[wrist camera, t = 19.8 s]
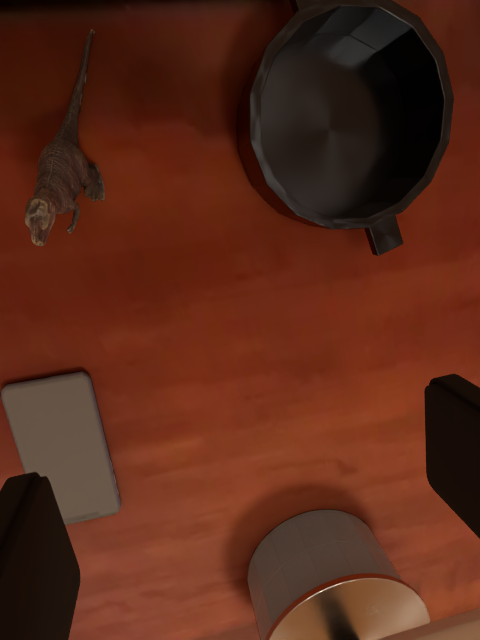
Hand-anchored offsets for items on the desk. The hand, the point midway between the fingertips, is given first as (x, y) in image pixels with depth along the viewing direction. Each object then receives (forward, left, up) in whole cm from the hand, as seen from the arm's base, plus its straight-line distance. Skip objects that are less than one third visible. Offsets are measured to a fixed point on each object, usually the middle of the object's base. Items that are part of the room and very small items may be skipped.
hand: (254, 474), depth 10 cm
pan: (+14, +10, -28) cm, 33 cm away
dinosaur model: (-6, +12, -28) cm, 32 cm away
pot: (+8, -36, -28) cm, 46 cm away
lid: (+8, -36, -19) cm, 42 cm away
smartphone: (-14, -14, -28) cm, 35 cm away
